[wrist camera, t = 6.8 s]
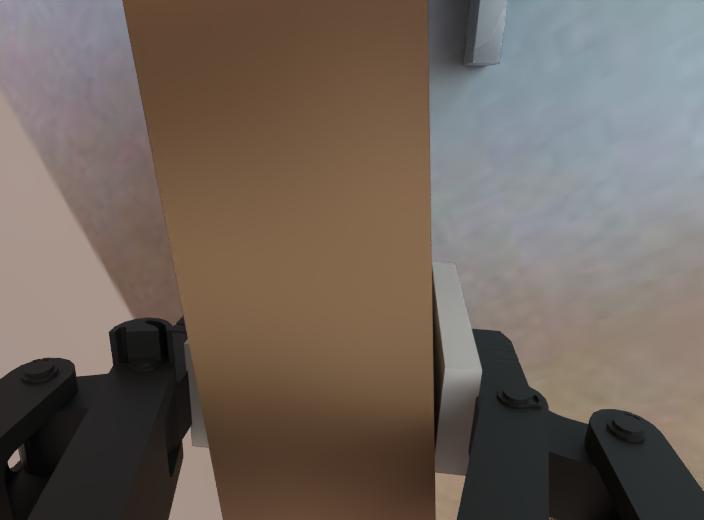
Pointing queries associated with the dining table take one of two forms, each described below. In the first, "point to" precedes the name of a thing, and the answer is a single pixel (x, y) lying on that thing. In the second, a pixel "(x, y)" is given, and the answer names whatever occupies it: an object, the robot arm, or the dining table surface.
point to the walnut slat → (300, 244)
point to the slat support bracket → (485, 32)
